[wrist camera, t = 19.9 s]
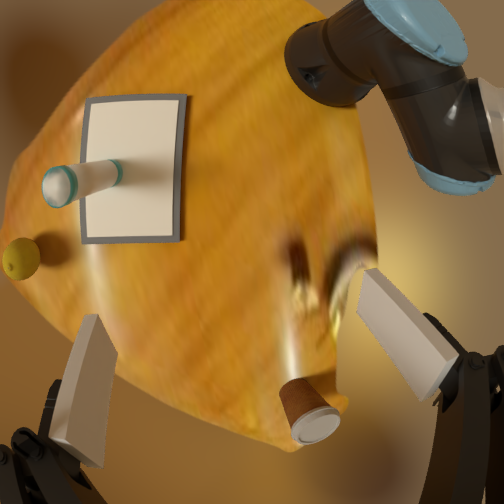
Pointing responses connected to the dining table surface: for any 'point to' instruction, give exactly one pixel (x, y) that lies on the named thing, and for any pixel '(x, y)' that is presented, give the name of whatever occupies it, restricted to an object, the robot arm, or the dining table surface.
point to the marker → (79, 181)
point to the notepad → (134, 168)
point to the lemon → (21, 259)
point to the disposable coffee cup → (307, 412)
